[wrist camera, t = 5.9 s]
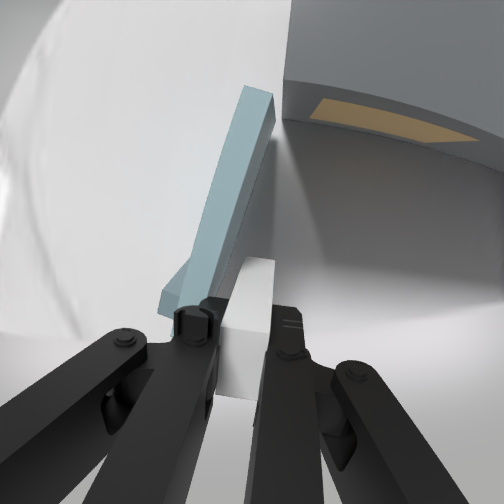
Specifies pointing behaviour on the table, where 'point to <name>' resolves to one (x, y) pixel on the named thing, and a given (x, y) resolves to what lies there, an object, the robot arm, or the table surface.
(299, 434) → the robot arm
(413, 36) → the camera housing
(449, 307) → the table surface
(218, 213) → the side door
